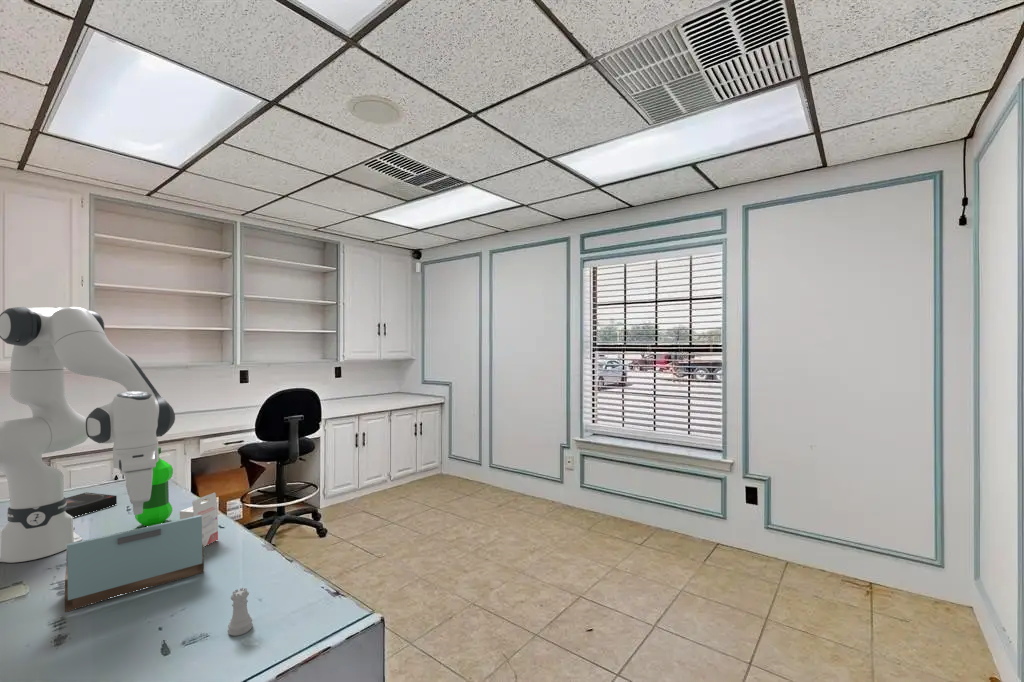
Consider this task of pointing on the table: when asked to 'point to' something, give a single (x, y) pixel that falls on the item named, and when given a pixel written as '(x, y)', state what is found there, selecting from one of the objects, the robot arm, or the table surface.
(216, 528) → the ink cartridge box
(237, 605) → the rook chess piece
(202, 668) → the table surface
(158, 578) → the brown long open box
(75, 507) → the flat black box
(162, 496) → the plastic bottle
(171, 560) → the drawer face panel
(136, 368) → the robot arm
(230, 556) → the table surface
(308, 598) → the table surface
